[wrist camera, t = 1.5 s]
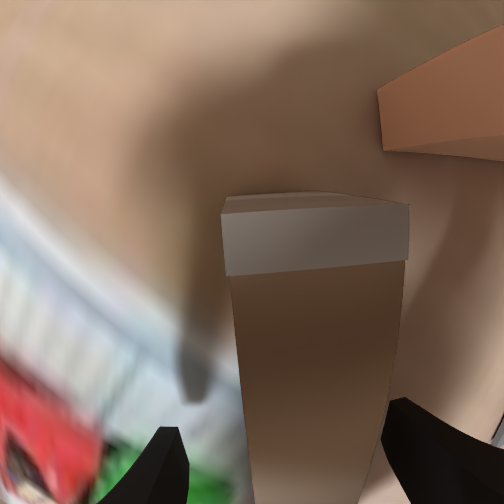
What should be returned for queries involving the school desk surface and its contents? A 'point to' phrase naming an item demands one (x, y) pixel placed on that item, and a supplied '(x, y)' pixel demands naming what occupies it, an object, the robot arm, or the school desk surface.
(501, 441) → the mat
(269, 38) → the school desk surface
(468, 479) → the robot arm
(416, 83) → the tile
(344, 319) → the brown block
